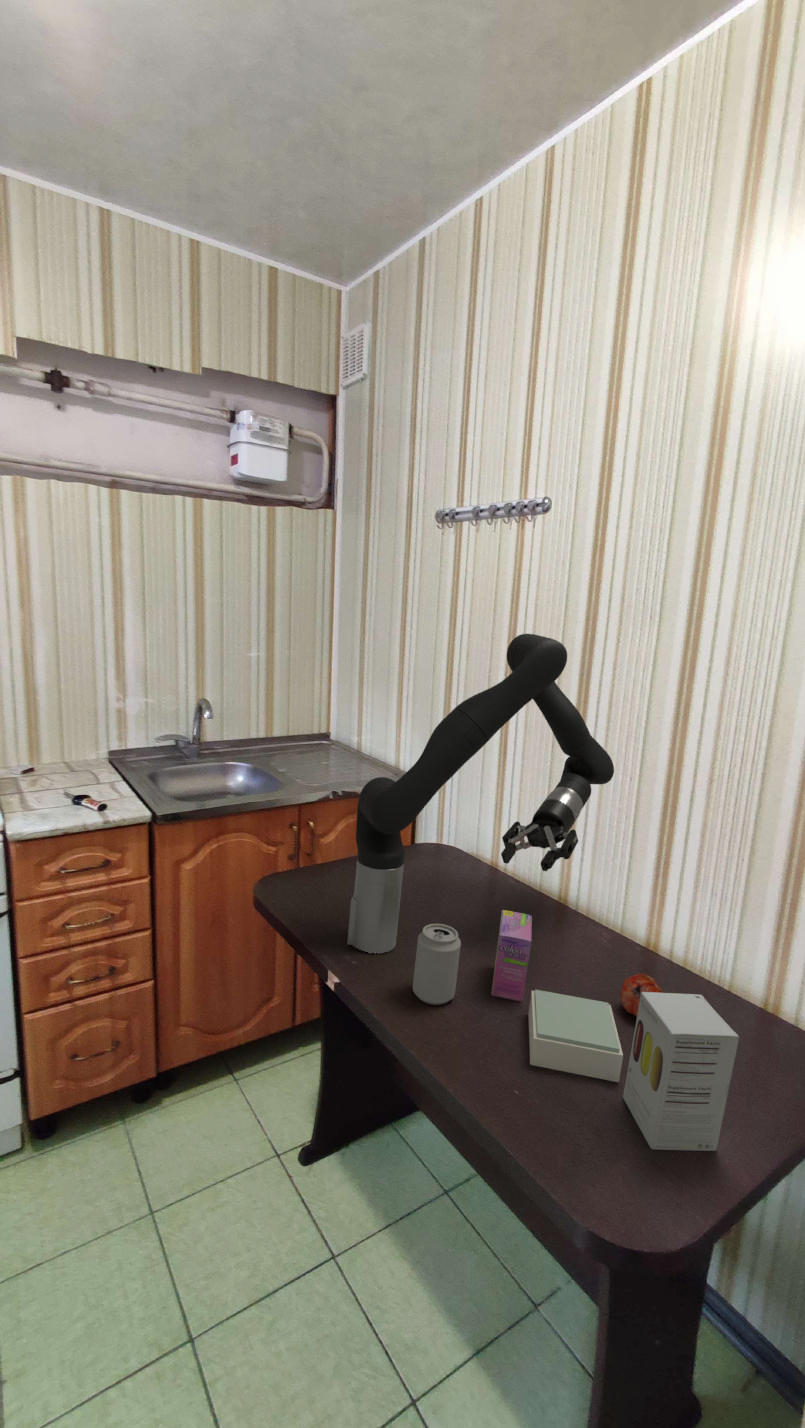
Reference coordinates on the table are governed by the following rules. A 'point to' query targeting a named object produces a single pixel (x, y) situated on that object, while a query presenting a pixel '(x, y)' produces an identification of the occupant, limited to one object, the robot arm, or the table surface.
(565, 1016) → the podium
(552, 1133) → the table surface
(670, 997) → the supplement box
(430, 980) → the can
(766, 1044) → the table surface
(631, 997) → the pomegranate
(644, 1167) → the table surface
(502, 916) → the box
